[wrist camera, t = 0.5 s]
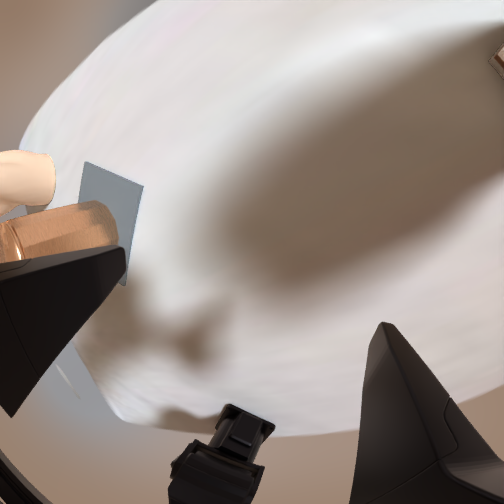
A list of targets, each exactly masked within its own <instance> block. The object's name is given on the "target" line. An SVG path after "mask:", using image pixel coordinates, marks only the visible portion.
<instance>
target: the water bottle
mask: <svg viewBox="0 0 504 504" xmlns="http://www.w3.org/2000/svg"><path fill="white" fill-rule="evenodd" d="M55 184H56V174H55V167H54V163H53V161H52V158H51V157H50V156H49V155H48V154H37V153H32V152H28V151H23V150H10V151H4V152H0V217H1V216H2V215H4V214H6V213H8V212H9V211H11V210H12V209H13V208H15V207H17V206H19V205H28V206H37V205H46V204H48V203H50V201H51V200H52V198H53V195H54V191H55Z"/></svg>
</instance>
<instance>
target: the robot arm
mask: <svg viewBox="0 0 504 504" xmlns="http://www.w3.org/2000/svg"><path fill="white" fill-rule="evenodd" d="M126 268H127V266H126V254H125V249H124V248H123V247H122V246H119V245H107V246H101V247H95V248H88V249H82V250H76V251H70V252H64V253H58V254H52V255H46V256H41V257H35V258H33V259H32V258H29V259H23V260H18V261H11V262H5V263H0V405H1V407H2V408H3V409H4V410H5V412H6V413H7V414H8V415H9V416H10V417H11V418H12V417H13V416H14V415H15V413H16V412H17V411H18V409H19V408H20V406H21V405H22V403H23V402H24V400H25V399H26V397H27V396H28V395H29V393H30V392H31V391H32V389H33V388H34V387H35V385H36V384H37V382H38V381H39V380H40V378H41V377H42V375H43V374H44V373H45V371H46V370H47V369H48V368H49V366H50V365H51V364H52V362H53V361H54V360H55V358H56V357H57V356H58V355H59V354H60V352H61V351H62V350H63V349H64V347H65V346H66V345H67V344H68V342H69V341H70V340H71V339H72V338H73V336H74V335H75V334H76V333H77V332H78V330H79V329H80V328H81V327H82V326H83V325H84V323H85V322H86V321H87V320H88V319H89V318H90V316H91V315H92V314H93V313H94V312H95V311H96V310H97V308H98V307H99V306H100V305H101V304H102V303H103V302H104V300H105V299H106V298H107V296H108V295H109V294H110V292H111V291H112V290H113V288H114V287H115V286H116V284H117V283H118V282H119V280H120V279H121V278H122V276H123V275H124V274H125V272H126ZM449 397H450V395H449V394H448V393H447V391H446V390H445V389H444V387H443V386H442V385H441V383H440V382H439V381H438V379H437V378H436V377H435V375H434V374H433V373H432V371H431V370H430V369H429V368H428V366H427V365H426V364H425V363H424V361H423V360H422V359H421V357H420V356H419V355H418V354H417V352H416V351H415V350H414V349H413V348H412V346H411V345H410V344H409V343H408V341H407V340H406V339H405V338H404V337H403V335H402V334H401V333H400V332H399V330H398V329H397V328H396V327H395V326H394V325H393V324H391V323H386V322H381V323H380V324H379V325H378V327H377V329H376V331H375V333H374V335H373V337H372V339H371V342H370V344H369V348H368V356H367V363H366V370H365V377H364V383H363V391H362V406H361V420H360V431H359V441H358V450H357V458H356V465H355V472H354V478H353V485H352V490H351V496H350V501H349V504H504V461H502V460H501V459H500V458H499V457H498V456H497V455H496V454H495V453H494V451H493V450H492V449H491V448H490V446H489V445H488V444H487V443H486V442H485V440H484V439H483V438H482V436H481V435H480V434H479V433H478V432H477V430H476V429H475V428H474V427H473V425H472V424H471V423H470V422H469V421H468V419H467V418H466V417H465V416H464V414H463V413H462V411H461V410H460V409H459V407H458V406H457V405H456V403H455V402H454V401H453V399H452V398H451V397H450V398H449ZM275 427H276V426H275V425H274V424H272V423H269V422H267V421H265V420H263V419H260V418H258V417H256V416H254V415H252V414H250V413H248V412H245V411H243V410H241V409H239V408H237V407H235V406H233V405H230V404H229V405H228V406H227V407H226V409H225V411H224V413H223V415H222V416H221V418H220V420H219V422H218V423H217V425H216V427H215V429H216V430H217V431H216V433H215V434H214V436H213V438H212V439H211V441H210V443H209V444H208V445H206V444H204V443H201V442H200V441H199V440H197V439H195V440H194V441H193V443H190V444H189V445H188V446H187V448H186V449H185V451H184V452H183V453H182V454H181V455H180V456H178V457H177V458H176V459H175V460H174V461H172V463H171V467H172V471H171V475H170V478H171V479H173V480H172V482H171V483H170V485H169V487H168V496H169V504H251V502H252V500H253V498H254V496H255V494H256V491H257V489H258V486H259V483H260V480H261V477H262V475H263V471H264V469H265V467H264V466H259V465H256V464H253V462H254V459H255V457H256V455H257V452H258V450H259V448H260V446H261V444H262V443H263V442H264V441H265V440H266V439H267V438H268V437H269V435H270V434H271V433H272V432H273V431H274V430H275ZM0 497H1V498H2V499H3V500H4V502H5V503H6V504H52V503H51V502H50V501H49V500H48V499H47V498H46V497H45V496H44V495H42V494H41V493H40V492H39V491H38V490H37V489H36V488H35V487H34V486H33V485H32V484H31V483H30V482H29V481H28V480H27V479H26V478H25V477H24V476H23V475H22V474H21V473H20V472H19V471H18V469H17V468H16V467H15V466H14V465H13V464H12V463H11V462H10V460H9V459H8V458H7V457H6V456H5V455H4V453H3V452H2V451H1V450H0ZM0 504H3V503H2V502H1V501H0Z"/></svg>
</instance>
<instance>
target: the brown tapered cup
mask: <svg viewBox="0 0 504 504" xmlns="http://www.w3.org/2000/svg"><path fill="white" fill-rule="evenodd" d="M118 242H119V235H118V231H117V226H116V221H115V219H114V217H113V215H112V214H111V212H110V210H109V209H108V207H107V206H106V205H104V204H103V203H101V202H99V201H97V200H92V201H87V202H82V203H77V204H72V205H68V206H63V207H59V208H54V209H50V210H46V211H41V212H37V213H33V214H29V215H25V216H22V217H18V218H14V219H10V220H7V221H6V222H3V223H0V263H5V262H11V261H18V260H23V259H29V258H32V259H33V258H35V257H41V256H46V255H52V254H58V253H64V252H70V251H76V250H82V249H88V248H95V247H101V246H107V245H118Z"/></svg>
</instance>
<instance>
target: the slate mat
mask: <svg viewBox="0 0 504 504" xmlns="http://www.w3.org/2000/svg"><path fill="white" fill-rule="evenodd" d="M142 190H143V186H141V185H139V184H137V183H135V182H132V181H130V180H128V179H125V178H123V177H121V176H119V175H116V174H114V173H112V172H109V171H107V170H105V169H102V168H100V167H98V166H96V165H93V164H91V163H89V162H85V163H84V168H83V174H82V179H81V186H80V192H79V199H78V203H82V202H87V201H92V200H97V201H99V202H101V203H103V204H104V205H106V206H107V207H108V209H109V210H110V212H111V214H112V215H113V217H114V219H115V221H116V226H117V231H118V235H119V242H118V245H119V246H122V247H123V248H124V249H125V254H126V266H127V268H126V272H125V274H124V275H123V276H122V278H121V279H120V280H119V282H118V283H120V284H121V285H123V286H125V283H126V276H127V269H128V262H129V256H130V249H131V244H132V238H133V233H134V227H135V222H136V217H137V212H138V208H139V203H140V199H141V194H142Z"/></svg>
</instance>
